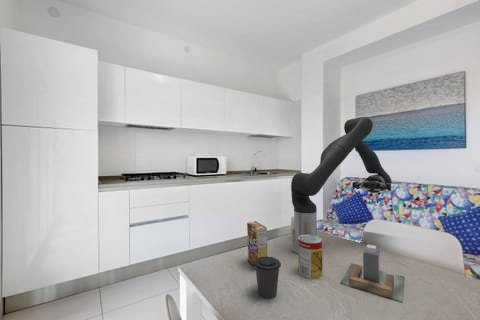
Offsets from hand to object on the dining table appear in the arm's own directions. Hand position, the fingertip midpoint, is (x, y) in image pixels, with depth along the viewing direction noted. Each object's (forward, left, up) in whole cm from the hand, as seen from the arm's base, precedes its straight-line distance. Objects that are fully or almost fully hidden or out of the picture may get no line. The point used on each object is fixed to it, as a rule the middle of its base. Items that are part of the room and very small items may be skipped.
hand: (368, 187), depth 92 cm
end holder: (+4, -20, -27) cm, 34 cm away
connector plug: (+4, -24, -27) cm, 36 cm away
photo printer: (-30, +2, -28) cm, 41 cm away
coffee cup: (-20, -47, -28) cm, 58 cm away
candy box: (-32, -34, -28) cm, 54 cm away
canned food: (-14, -28, -28) cm, 42 cm away
